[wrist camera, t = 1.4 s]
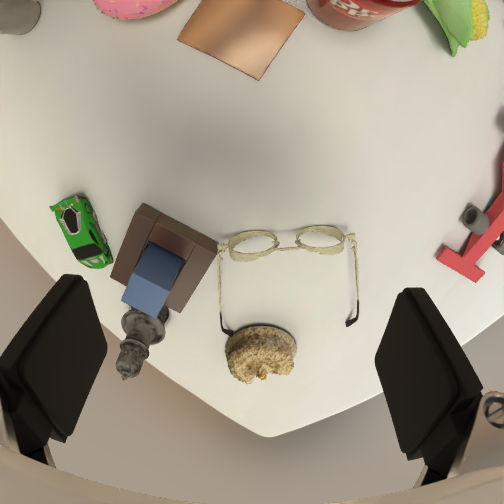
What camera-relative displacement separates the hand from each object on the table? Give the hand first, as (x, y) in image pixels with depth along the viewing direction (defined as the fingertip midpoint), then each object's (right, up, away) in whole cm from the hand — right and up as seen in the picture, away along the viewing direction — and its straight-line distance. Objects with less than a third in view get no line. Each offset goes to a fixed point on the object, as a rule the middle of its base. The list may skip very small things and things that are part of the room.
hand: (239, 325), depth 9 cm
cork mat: (-1, +23, +15) cm, 28 cm away
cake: (+2, -11, +34) cm, 36 cm away
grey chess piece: (-13, -6, +31) cm, 34 cm away
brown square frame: (-10, +2, +27) cm, 29 cm away
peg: (-10, +2, +27) cm, 29 cm away
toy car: (-20, +5, +26) cm, 33 cm away
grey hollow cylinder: (-26, +29, +12) cm, 41 cm away
